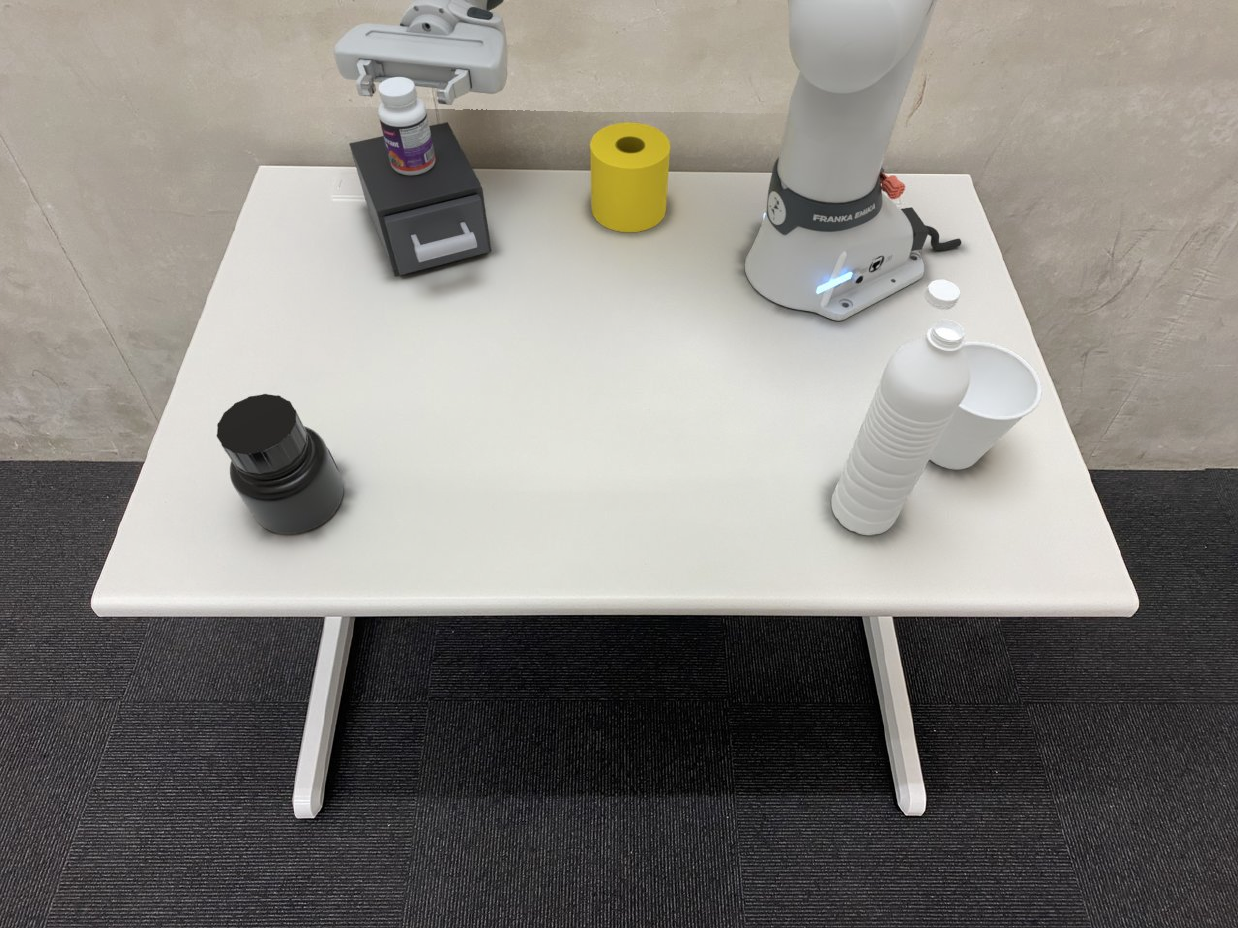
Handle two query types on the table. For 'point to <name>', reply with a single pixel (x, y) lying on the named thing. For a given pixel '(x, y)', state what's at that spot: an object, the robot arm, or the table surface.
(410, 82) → the pill bottle
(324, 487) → the ink bottle
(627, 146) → the yellow toilet paper roll
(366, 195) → the cabinet
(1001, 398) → the cup
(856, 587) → the table surface
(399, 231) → the drawer
